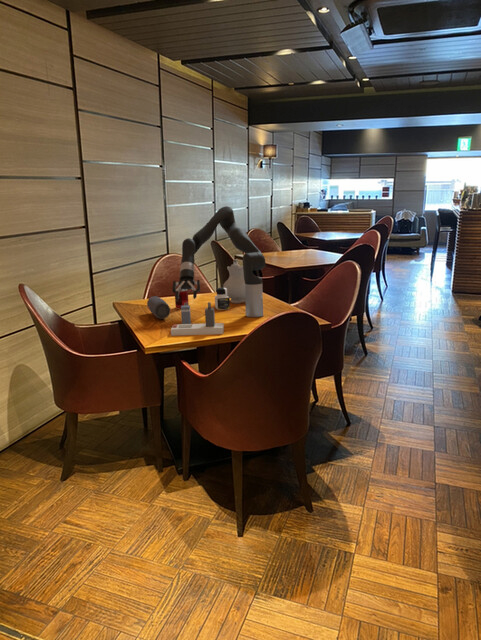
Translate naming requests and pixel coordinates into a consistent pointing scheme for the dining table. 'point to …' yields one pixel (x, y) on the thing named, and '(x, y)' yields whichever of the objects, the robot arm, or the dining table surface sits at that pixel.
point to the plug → (185, 314)
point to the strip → (200, 326)
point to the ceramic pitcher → (235, 283)
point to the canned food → (182, 299)
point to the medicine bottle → (222, 299)
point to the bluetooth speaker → (158, 307)
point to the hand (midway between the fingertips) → (185, 298)
